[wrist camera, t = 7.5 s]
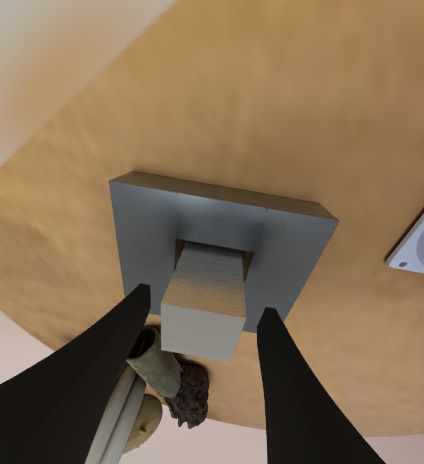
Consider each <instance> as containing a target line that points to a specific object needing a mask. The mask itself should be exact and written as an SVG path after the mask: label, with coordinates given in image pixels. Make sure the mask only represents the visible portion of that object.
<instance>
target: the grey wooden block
mask: <svg viewBox="0 0 424 464" xmlns="http://www.w3.org/2000/svg"><path fill="white" fill-rule="evenodd" d="M245 321H246V308H245V294H244V279H243V265H242V251H241V250H238V249H233V248H227V247H221V246H216V245H210V244H205V243H199V242H193V241H188V240H187V242H186V244H185V247H184V249H183V251H182V254H181V256H180V259H179V261H178V263H177V266H176V268H175V271H174V273H173V275H172V278H171V280H170V283H169V285H168V287H167V290H166V292H165V295H164V297H163V299H162V302H161V350H165V351H170V352H175V353H181V354H186V355H192V356H197V357H203V358H208V359H214V360H219V361H225V362H231V359H232V356H233V354H234V351H235V348H236V345H237V343H238V340H239V337H240V334H241V332H242V329H243V326H244V323H245Z"/></svg>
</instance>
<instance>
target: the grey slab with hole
mask: <svg viewBox="0 0 424 464" xmlns="http://www.w3.org/2000/svg"><path fill="white" fill-rule="evenodd" d="M109 185H110V193H111V200H112V207H113V214H114V222H115V229H116V236H117V244H118V251H119V258H120V265H121V273H122V280H123V287H124V294H125V297H126V296H127V295H128V294H129V293H130V292H132V291H133V290H134V289H135V288H136V287H137V286H138V285H139V284H140V283H142V284H148V285H150V290H151V308H150V311H149V313H150V314H155V315H161V302H162V299H163V297H164V295H165V292H166V290H167V287H168V285H169V283H170V280H171V278H172V275H173V273H174V271H175V268H176V266H177V263H178V261H179V259H180V256H181V254H182V251H183V243H184V240H188V241H193V242H199V243H205V244H210V245H216V246H221V247H227V248H233V249H238V250H244V251H245V253H244V256H243V260H242V265H243V279H244V294H245V308H246V321H245V323H244V326H243V329H242V331H247V332H252V333H257V325H258V323H259V321H260V318H261V316H262V314H263V312H264V309H265V307H270V308H275V309H276V310H277V311H278V313H279V315H280V317H281V319H282V321H283V322H284V320H285V319H286V317H287V315H288V313H289V311H290V310H291V308H292V306H293V304H294V302H295V301H296V299H297V297H298V295H299V293H300V292H301V290H302V288H303V286H304V284H305V283H306V281H307V279H308V277H309V275H310V274H311V272H312V270H313V268H314V266H315V265H316V263H317V261H318V259H319V257H320V256H321V254H322V252H323V250H324V248H325V246H326V245H327V243H328V241H329V239H330V237H331V236H332V234H333V232H334V230H335V228H336V227H337V225H338V223H339V220H338V219H337V218H335V217H334V216H333V215H332V214H331V213H330V212H328V211H327V210H326V209H325V208H324V207H323V206H321V205H320V204H319V203H314V202H308V201H302V200H297V199H291V198H285V197H279V196H273V195H268V194H262V193H256V192H250V191H245V190H239V189H233V188H227V187H221V186H216V185H210V184H204V183H198V182H193V181H187V180H181V179H175V178H169V177H164V176H158V175H152V174H146V173H141V172H135V171H132V172H129V173H127V174H124V175H122V176H120V177H117V178H115V179H112V180H110V181H109Z"/></svg>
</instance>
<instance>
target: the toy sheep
mask: <svg viewBox="0 0 424 464" xmlns="http://www.w3.org/2000/svg"><path fill="white" fill-rule="evenodd" d="M125 366H126V361H125V363H124V365H123V367H122V370H121V372H120V374H119V377H118V379H117V381H116V384H115V386H114V389H113V391H112V394H111V396H110V399H109V401H108V404H107V406H106V409H105V411H104V414H103V416H102V419H101V422H100V424H99V427H98V429H97V432H96V435H95V437H94V440H93V443H92V445H91V448H90V451H89V454H88V456H87V459H86V462H85V464H118V463H119V461H120V459H121V456H122V454H125V453H127V452H129V451H131V450H133V449H135V448H138V447H139V446H140V445H141V444H143V443H144V442H145V441H146V440H147V439H148V438H149V437H150V436H151V435H152V434H153V433H154V432H155V430H156V429H157V427H158V425H159V423H160V421H161V418H162V405H161V402H160V401H159V399H158V398H157V397H155V396H153V395H151V394H144V392H145V389H146V382H145V380H144V379H143V378H142V377H141V376H140V375H139V374H137V372H136V371H135V370H134V369H133V368H132V367H131V366H130V365H129V366H126V367H125Z"/></svg>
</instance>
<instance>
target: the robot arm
mask: <svg viewBox="0 0 424 464" xmlns="http://www.w3.org/2000/svg"><path fill="white" fill-rule="evenodd" d="M386 264H387V265H388V266H390V267H392V268H396V269H402V270H408V271H413V272H419V273H424V214H423V215H422V216H421V217H420V219H419V220H418V221H417V222H416V224H415V225H414V226H413V227H412V229H411V230H410V231H409V232H408V234H407V235H406V236H405V237H404V239H403V240H402V241H401V243H400V244H399V245H398V246H397V248H396V249H395V250H394V251H393V253H392V254H391V255H390V256H389V258H388V259H387V261H386ZM150 308H151V290H150V285H148V284H142V283H140V284H139V285H138V286H137V287H136V288H135V289H134V290H133V291H132V292H130V293H129V294H128V295H127V296H126V297H125V298H124V299H123V300H122V301H121V302H120V303H119V304H117V305H116V306H115V307H114V308H113V309H112V310H111V311H109V312H108V313H107V314H106V315H105V316H103V317H102V318H101V319H100V320H98V321H97V322H96V323H95V324H94V325H92V326H91V327H90V328H88V329H87V330H86V331H84V332H83V333H82V334H80V335H79V336H77V337H76V338H75V339H73V340H72V341H70V342H69V343H67V344H66V345H64V346H63V347H62V348H60V349H59V350H57V351H56V352H54V353H53V354H51V355H49V356H48V357H46V358H45V359H43V360H41V361H40V362H38V363H36V364H35V365H33V366H32V367H30V368H28V369H26V370H25V371H23V372H21V373H20V374H18V375H16V376H15V377H13V378H11V379H9V380H7V381H5V382H4V383H2V384H0V464H85V462H86V459H87V456H88V454H89V451H90V448H91V445H92V443H93V440H94V437H95V435H96V432H97V429H98V427H99V424H100V422H101V419H102V416H103V414H104V411H105V409H106V406H107V404H108V401H109V399H110V396H111V394H112V391H113V389H114V386H115V384H116V381H117V379H118V377H119V374H120V372H121V370H122V367H123V365H124V363H125V361H126V359H127V357H128V355H129V353H130V351H131V349H132V347H133V345H134V344H135V342H136V340H137V338H138V336H139V334H140V332H141V330H142V328H143V326H144V324H145V321H146V319H147V316H148V314H149V311H150ZM257 346H258V354H259V361H260V368H261V375H262V382H263V389H264V399H265V415H266V434H267V461H268V464H386V463H385V462H384V461H383V460H382V459H381V458H380V457H379V456H378V454H377V453H376V452H375V451H374V450H373V449H372V448H371V446H370V445H369V444H368V443H367V442H366V441H365V439H364V438H363V437H362V436H361V435H360V434H359V432H358V431H357V430H356V429H355V427H354V426H353V425H352V424H351V422H350V421H349V420H348V419H347V417H346V416H345V415H344V414H343V413H342V411H341V410H340V409H339V408H338V406H337V405H336V404H335V402H334V401H333V400H332V398H331V397H330V396H329V394H328V393H327V392H326V390H325V389H324V387H323V386H322V385H321V383H320V382H319V380H318V379H317V378H316V376H315V375H314V373H313V372H312V370H311V369H310V367H309V365H308V364H307V362H306V361H305V359H304V358H303V356H302V354H301V353H300V351H299V349H298V348H297V346H296V344H295V343H294V341H293V339H292V337H291V336H290V334H289V332H288V330H287V328H286V327H285V325H284V323H283V321H282V319H281V317H280V315H279V313H278V311H277V310H276V309H275V308H270V307H265V309H264V312H263V314H262V316H261V318H260V321H259V323H258V325H257Z"/></svg>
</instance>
